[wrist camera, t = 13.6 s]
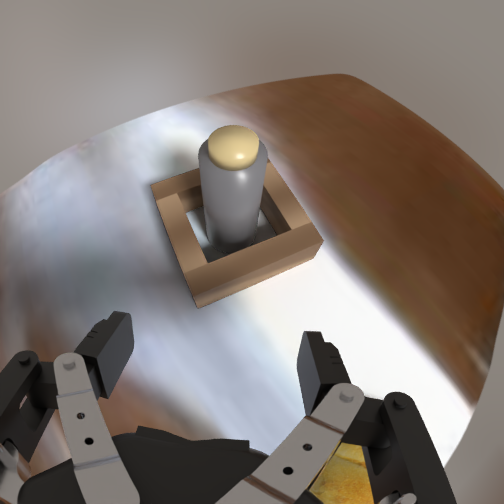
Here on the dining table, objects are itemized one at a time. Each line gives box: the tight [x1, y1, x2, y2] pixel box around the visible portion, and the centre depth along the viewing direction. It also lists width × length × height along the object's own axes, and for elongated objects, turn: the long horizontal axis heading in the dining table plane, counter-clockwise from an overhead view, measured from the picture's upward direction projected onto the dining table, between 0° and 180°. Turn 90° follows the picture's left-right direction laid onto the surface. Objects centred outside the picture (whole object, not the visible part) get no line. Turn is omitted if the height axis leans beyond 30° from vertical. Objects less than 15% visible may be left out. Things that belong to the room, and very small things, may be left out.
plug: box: [198, 125, 268, 254], centre depth 20 cm, size 4×4×10 cm
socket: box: [151, 159, 324, 309], centre depth 23 cm, size 10×10×3 cm
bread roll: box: [310, 443, 374, 504], centre depth 15 cm, size 8×9×4 cm
